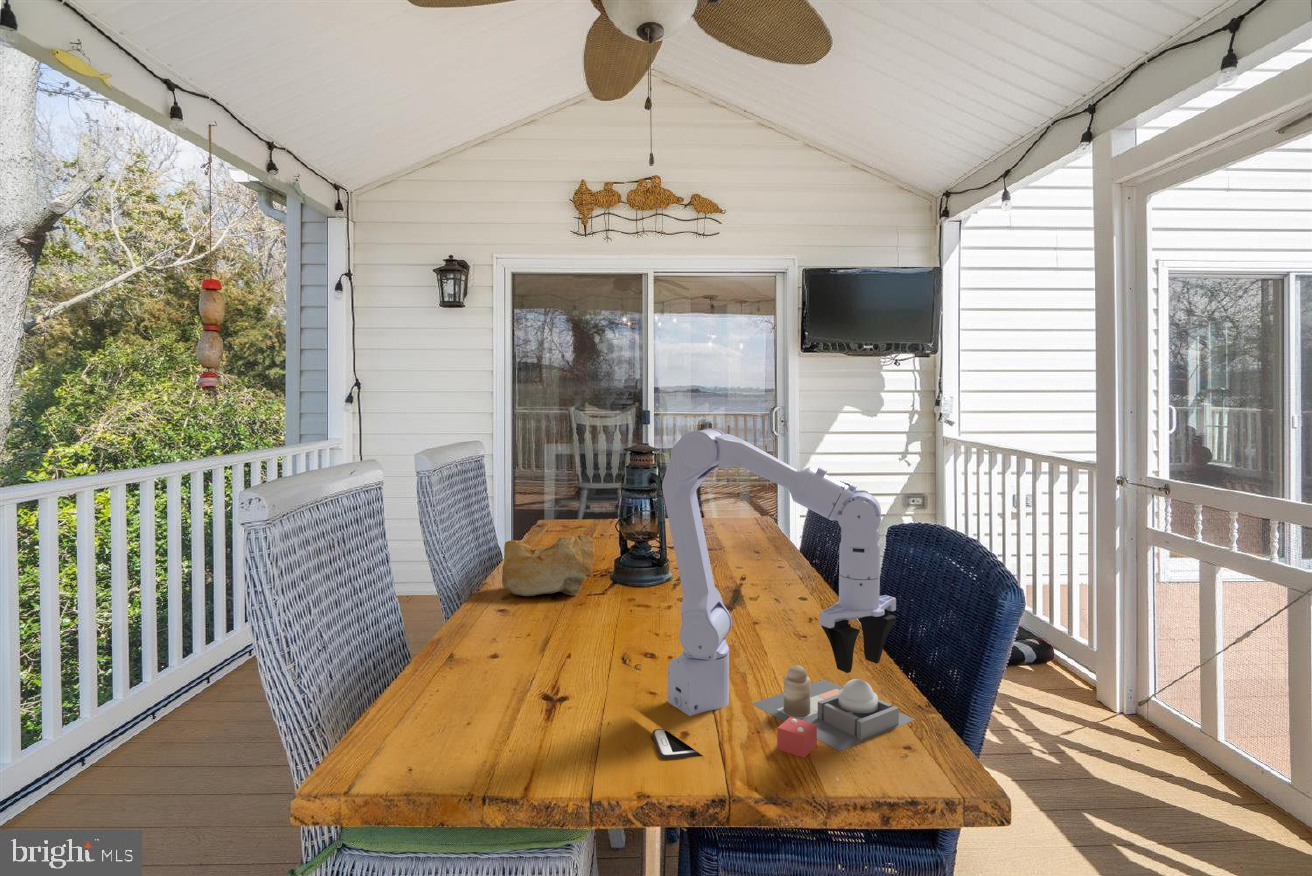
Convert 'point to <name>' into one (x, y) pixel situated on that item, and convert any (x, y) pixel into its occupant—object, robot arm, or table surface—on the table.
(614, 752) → the table surface
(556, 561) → the rough brown rock
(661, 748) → the cell phone
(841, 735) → the game board
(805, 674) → the pawn
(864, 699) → the dome
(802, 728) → the red die
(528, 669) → the table surface
